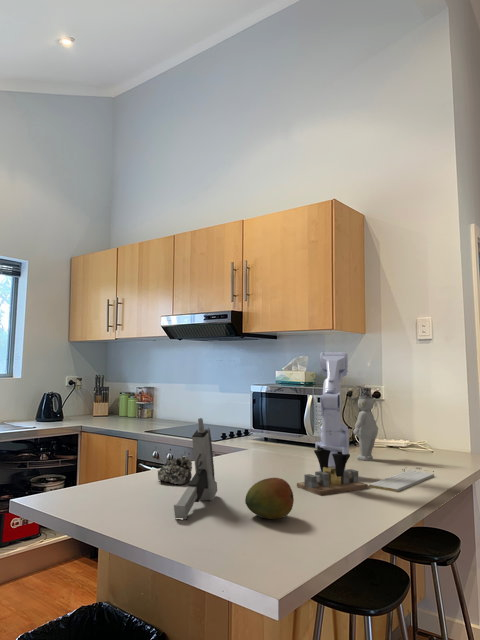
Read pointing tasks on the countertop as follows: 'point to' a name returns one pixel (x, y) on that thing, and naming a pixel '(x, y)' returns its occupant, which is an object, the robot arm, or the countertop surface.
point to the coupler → (332, 475)
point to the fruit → (270, 498)
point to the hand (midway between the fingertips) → (331, 474)
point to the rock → (176, 471)
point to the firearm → (199, 473)
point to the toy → (366, 425)
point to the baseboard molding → (401, 480)
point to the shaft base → (322, 487)
